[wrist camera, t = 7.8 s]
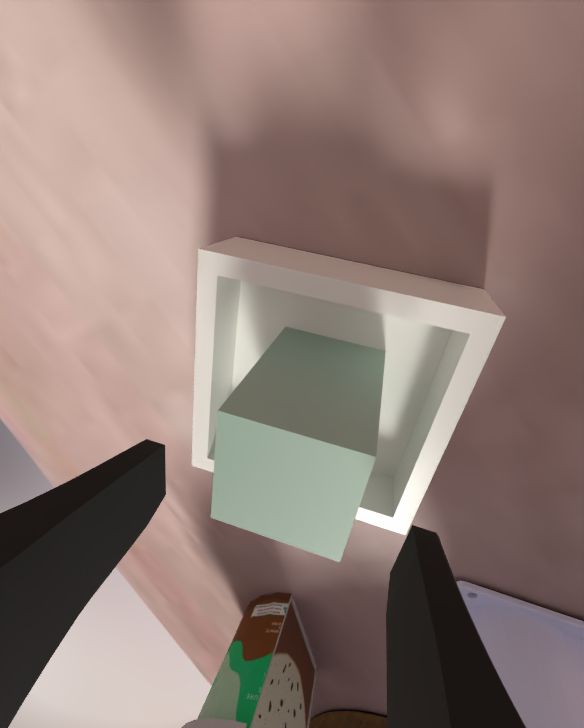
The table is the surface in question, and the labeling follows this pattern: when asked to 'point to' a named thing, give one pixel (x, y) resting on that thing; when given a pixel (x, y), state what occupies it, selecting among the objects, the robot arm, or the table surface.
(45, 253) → the table surface
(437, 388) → the bin
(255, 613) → the food container
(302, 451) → the green block
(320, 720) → the wooden container
